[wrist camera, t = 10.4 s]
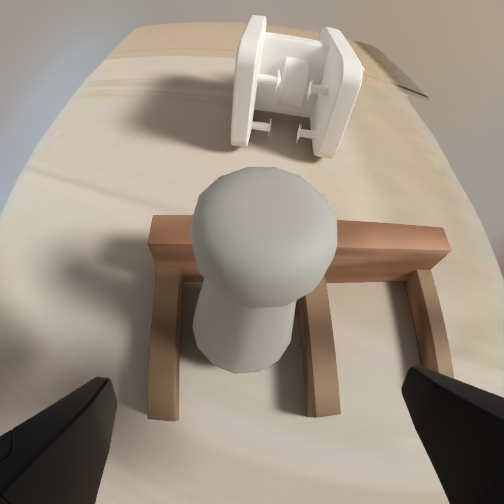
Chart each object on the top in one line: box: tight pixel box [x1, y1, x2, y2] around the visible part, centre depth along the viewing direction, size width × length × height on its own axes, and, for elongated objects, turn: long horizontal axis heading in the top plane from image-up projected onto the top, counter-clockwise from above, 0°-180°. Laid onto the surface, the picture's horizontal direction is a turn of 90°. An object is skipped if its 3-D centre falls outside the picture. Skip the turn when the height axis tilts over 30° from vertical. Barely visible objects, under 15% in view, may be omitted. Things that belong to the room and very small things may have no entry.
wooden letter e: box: [148, 215, 454, 421], centre depth 17 cm, size 12×20×5 cm, turn 92°
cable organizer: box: [231, 15, 365, 159], centre depth 26 cm, size 15×11×12 cm
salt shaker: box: [190, 167, 337, 373], centre depth 13 cm, size 6×6×13 cm
